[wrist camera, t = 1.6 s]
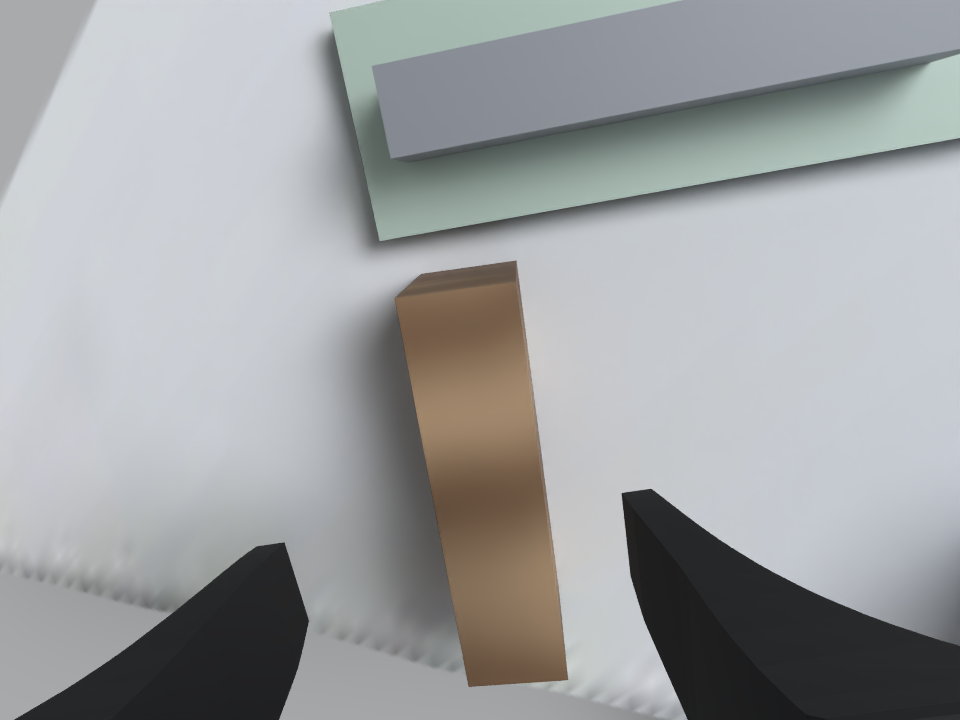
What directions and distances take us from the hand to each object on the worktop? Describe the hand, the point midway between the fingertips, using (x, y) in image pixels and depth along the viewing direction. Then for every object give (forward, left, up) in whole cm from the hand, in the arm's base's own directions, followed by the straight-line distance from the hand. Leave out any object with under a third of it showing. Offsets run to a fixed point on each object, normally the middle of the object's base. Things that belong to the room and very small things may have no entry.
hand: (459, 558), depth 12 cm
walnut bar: (-2, 0, -11) cm, 11 cm away
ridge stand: (+10, -7, -11) cm, 16 cm away
